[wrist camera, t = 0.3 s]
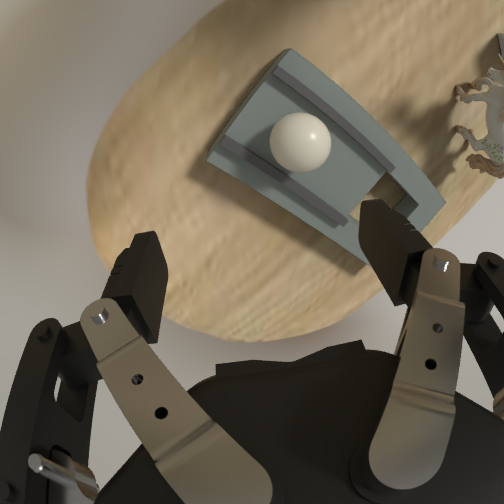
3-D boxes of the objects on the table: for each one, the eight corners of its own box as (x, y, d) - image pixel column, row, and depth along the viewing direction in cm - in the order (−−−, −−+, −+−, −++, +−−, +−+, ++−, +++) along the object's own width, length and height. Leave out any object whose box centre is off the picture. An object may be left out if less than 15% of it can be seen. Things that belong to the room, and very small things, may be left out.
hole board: (284, 49, 27) (293, 47, 24) (433, 191, 39) (450, 205, 36) (207, 151, 34) (206, 163, 30) (371, 259, 46) (383, 277, 42)
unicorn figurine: (458, 34, 25) (529, 44, 14) (487, 148, 35) (544, 184, 24) (425, 45, 27) (498, 54, 16) (459, 165, 37) (517, 206, 26)
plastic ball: (288, 97, 28) (303, 104, 23) (331, 130, 30) (352, 145, 25) (254, 141, 30) (261, 158, 25) (297, 171, 33) (312, 193, 28)
